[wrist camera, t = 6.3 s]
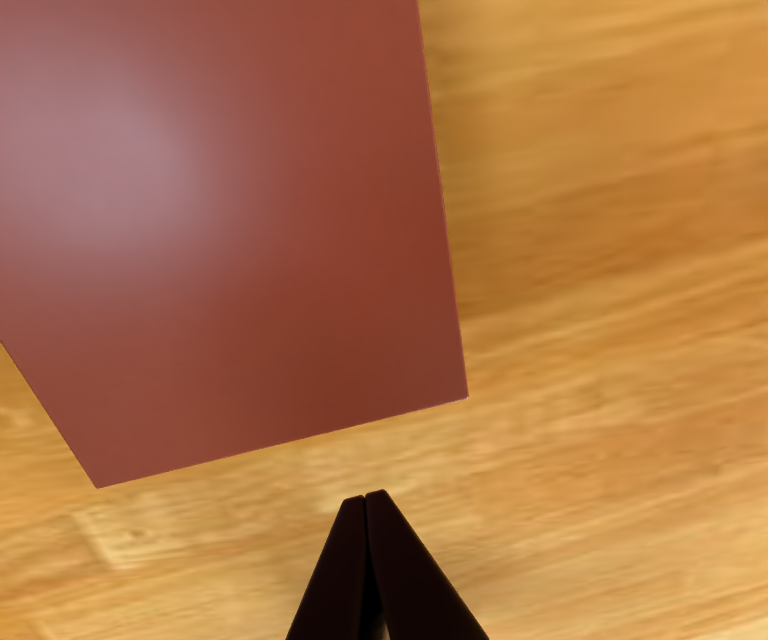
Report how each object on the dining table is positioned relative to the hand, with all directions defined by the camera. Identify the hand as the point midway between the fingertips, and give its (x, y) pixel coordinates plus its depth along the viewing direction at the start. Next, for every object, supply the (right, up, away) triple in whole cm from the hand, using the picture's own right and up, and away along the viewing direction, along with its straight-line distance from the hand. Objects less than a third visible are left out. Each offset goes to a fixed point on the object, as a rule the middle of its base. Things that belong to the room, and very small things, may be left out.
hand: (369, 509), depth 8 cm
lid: (-5, +7, +3) cm, 9 cm away
